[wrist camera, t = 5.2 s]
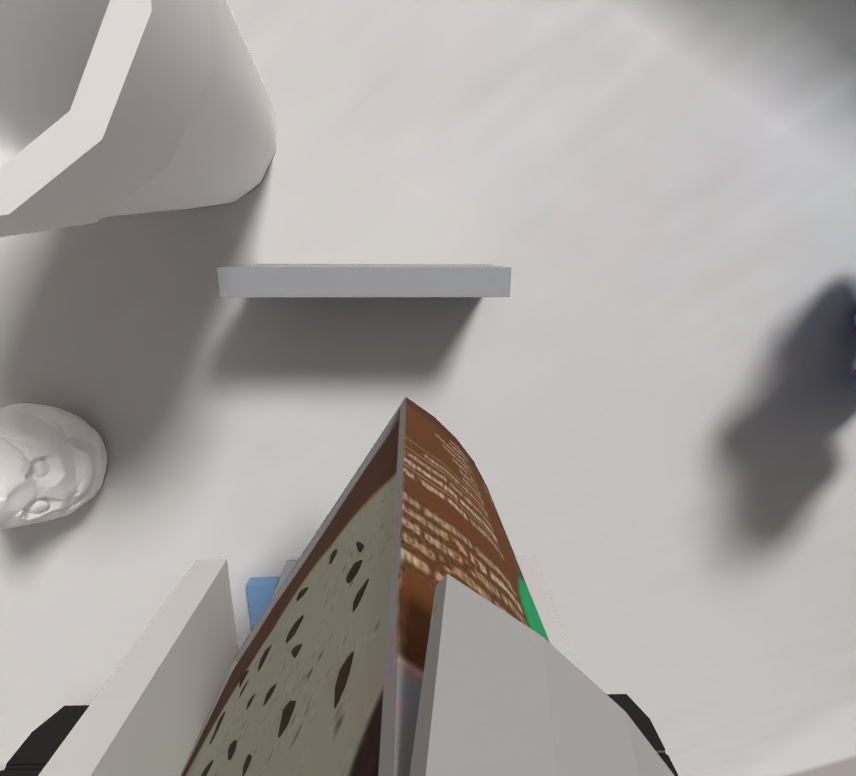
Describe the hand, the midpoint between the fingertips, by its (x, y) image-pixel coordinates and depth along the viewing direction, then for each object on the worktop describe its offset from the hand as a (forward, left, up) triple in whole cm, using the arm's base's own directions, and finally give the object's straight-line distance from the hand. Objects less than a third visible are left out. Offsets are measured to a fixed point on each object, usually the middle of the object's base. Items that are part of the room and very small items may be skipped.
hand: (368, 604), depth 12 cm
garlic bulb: (+16, 0, -12) cm, 20 cm away
